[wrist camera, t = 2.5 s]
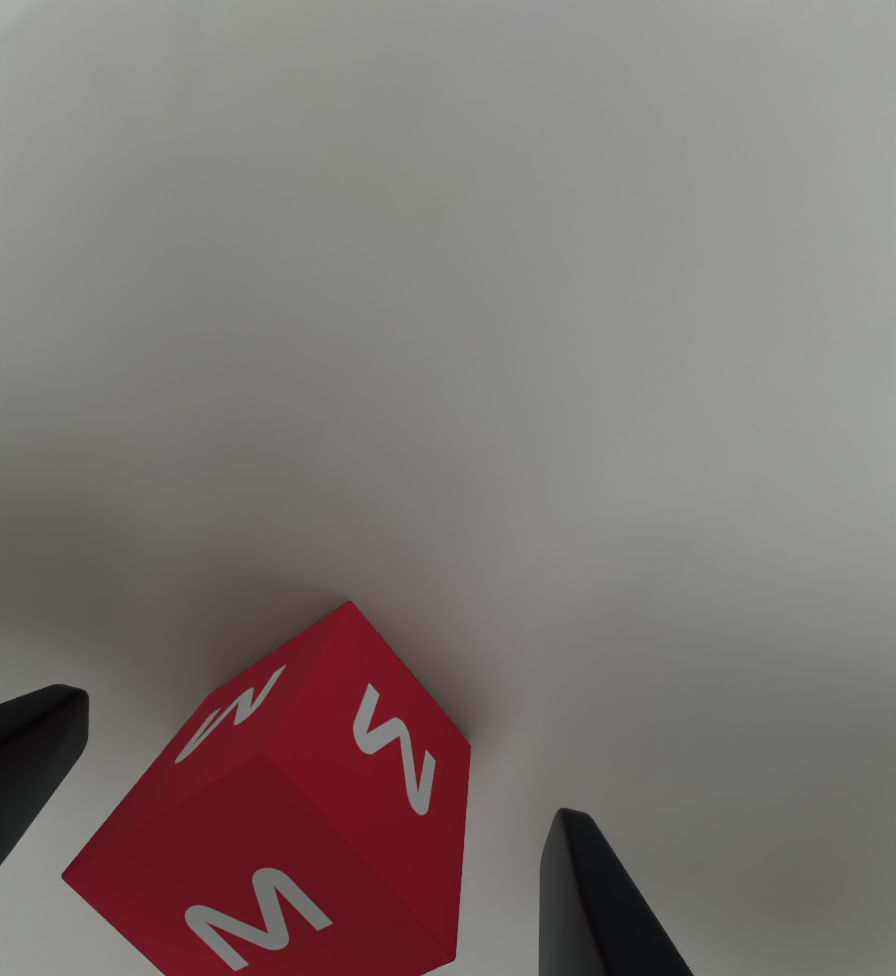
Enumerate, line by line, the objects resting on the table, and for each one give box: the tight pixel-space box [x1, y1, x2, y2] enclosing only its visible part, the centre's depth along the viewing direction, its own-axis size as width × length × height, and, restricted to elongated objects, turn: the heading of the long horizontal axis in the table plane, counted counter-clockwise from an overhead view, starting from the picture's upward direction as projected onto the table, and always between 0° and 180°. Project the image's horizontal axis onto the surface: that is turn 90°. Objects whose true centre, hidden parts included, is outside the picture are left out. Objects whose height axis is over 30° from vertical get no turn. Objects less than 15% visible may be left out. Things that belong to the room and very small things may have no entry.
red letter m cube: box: [62, 601, 471, 976], centre depth 7 cm, size 3×3×3 cm
